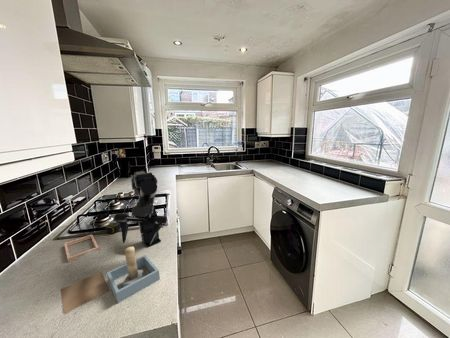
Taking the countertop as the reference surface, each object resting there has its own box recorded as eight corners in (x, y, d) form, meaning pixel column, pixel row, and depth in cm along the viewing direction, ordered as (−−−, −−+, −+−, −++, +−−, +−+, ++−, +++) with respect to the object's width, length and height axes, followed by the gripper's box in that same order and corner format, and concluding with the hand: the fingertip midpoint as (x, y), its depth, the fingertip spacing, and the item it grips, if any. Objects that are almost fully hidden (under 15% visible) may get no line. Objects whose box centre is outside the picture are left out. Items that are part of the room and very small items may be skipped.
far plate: (101, 274, 68) (101, 271, 68) (110, 293, 60) (109, 290, 60) (61, 292, 61) (60, 289, 61) (64, 317, 52) (63, 314, 52)
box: (146, 265, 72) (145, 255, 71) (160, 282, 64) (158, 270, 63) (108, 284, 64) (106, 272, 63) (118, 306, 55) (116, 293, 54)
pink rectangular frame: (92, 236, 94) (92, 234, 94) (99, 250, 83) (98, 247, 82) (64, 246, 87) (64, 243, 87) (68, 262, 76) (67, 258, 75)
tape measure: (123, 228, 102) (122, 221, 102) (116, 234, 96) (115, 227, 95) (111, 228, 103) (110, 221, 102) (102, 235, 96) (101, 228, 95)
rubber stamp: (132, 275, 66) (127, 244, 64) (143, 274, 67) (139, 243, 64) (123, 289, 61) (118, 255, 58) (136, 288, 61) (131, 254, 58)
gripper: (114, 193, 68) (101, 239, 61) (168, 198, 71) (161, 242, 64) (123, 202, 78) (112, 243, 71) (170, 205, 81) (164, 245, 74)
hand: (137, 243), depth 70 cm, fingers open, 9 cm apart
